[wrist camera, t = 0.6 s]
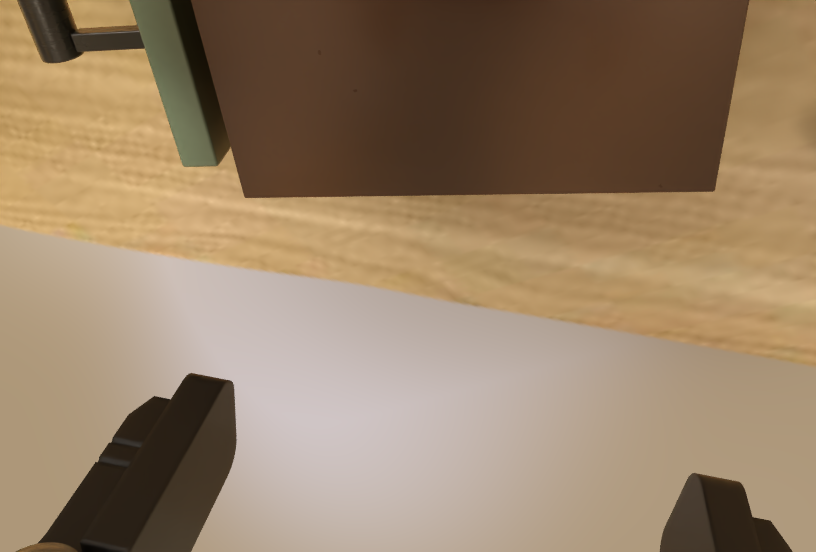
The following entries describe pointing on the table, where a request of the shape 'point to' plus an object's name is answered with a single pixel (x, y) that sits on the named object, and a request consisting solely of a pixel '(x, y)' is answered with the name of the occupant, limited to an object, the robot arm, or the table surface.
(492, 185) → the cabinet
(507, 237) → the table surface
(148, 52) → the drawer
